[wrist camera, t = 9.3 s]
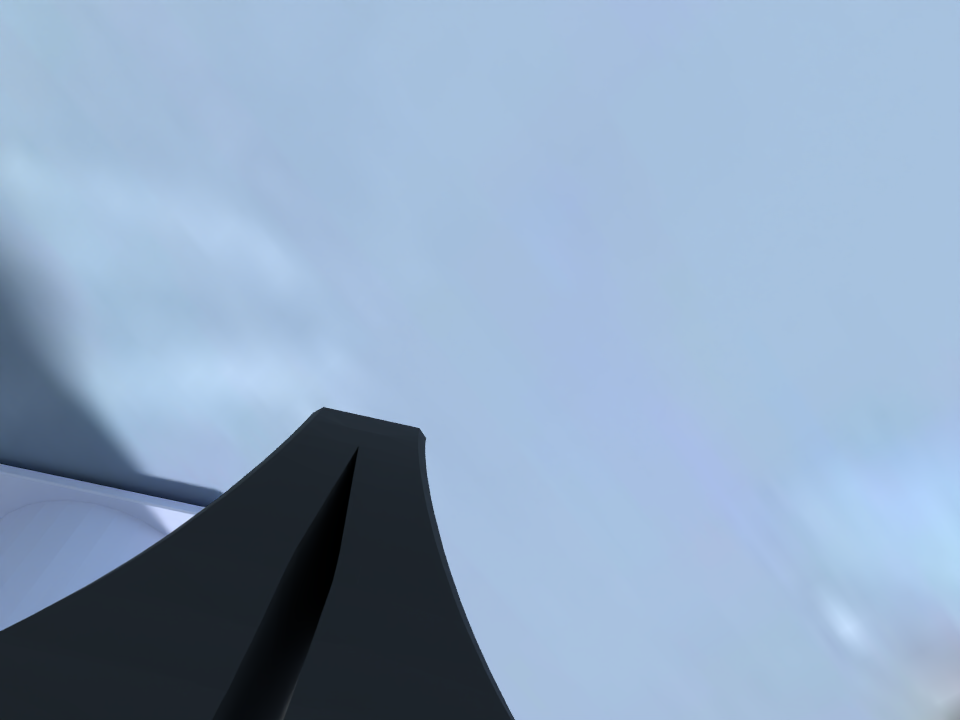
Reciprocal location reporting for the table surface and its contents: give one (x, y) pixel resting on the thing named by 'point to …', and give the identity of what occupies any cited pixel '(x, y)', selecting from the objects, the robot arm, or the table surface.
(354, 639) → the robot arm
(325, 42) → the table surface
